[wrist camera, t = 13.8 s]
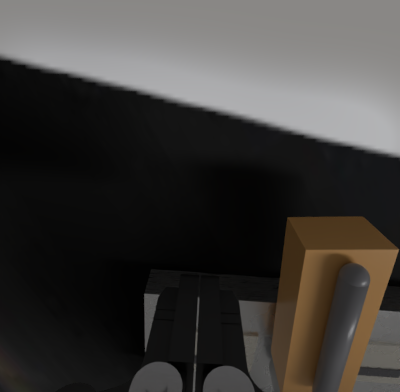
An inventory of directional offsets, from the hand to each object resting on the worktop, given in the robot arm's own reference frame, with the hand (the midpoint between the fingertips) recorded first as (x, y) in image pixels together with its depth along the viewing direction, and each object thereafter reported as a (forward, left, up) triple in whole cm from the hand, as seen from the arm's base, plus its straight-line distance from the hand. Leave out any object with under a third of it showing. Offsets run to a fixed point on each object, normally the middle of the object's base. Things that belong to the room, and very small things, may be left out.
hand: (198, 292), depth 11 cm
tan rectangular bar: (-7, +6, -5) cm, 10 cm away
